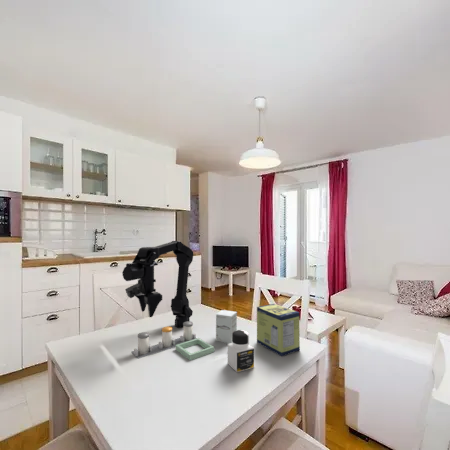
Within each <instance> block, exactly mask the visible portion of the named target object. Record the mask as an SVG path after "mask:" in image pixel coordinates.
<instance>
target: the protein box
mask: <svg viewBox="0 0 450 450" xmlns="http://www.w3.org/2000/svg"><path fill="white" fill-rule="evenodd" d="M256 343H257V344H259V345H261V346H262V347H264V348H266V349H268V350H270V351H271V352H273V353H274V354H276V355H278V356H280V357H283V356H284V357H285V356H287V355H289V354H292V353H294V352H295V353H296V352H298V351H300V348H301V347H300V343H301V342H300V311H296V310H294V309H290V308H288V307H285V306H282V305H279V304H276V303H271V304H266V305H260V306H256Z"/></svg>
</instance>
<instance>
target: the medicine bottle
mask: <svg viewBox="0 0 450 450" xmlns="http://www.w3.org/2000/svg"><path fill="white" fill-rule="evenodd" d="M227 364H228V365H229V366H230V367H231V368H232V369H233V371H235V372H236V373H240V372H244V371H247V370H250V369H254V368H255V347H254V346H252V345H251V344H250V333H249V332H248V331H246V330H242V329H237V331H234V332H233V333H232V343H230V344H228V345H227Z"/></svg>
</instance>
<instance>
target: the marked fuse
mask: <svg viewBox="0 0 450 450" xmlns="http://www.w3.org/2000/svg"><path fill="white" fill-rule="evenodd" d="M172 338H173V327H172V326H168V325H167V326H163V327H162V328H161V343H163V347H164V348H168V347H171V346H172Z"/></svg>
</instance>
